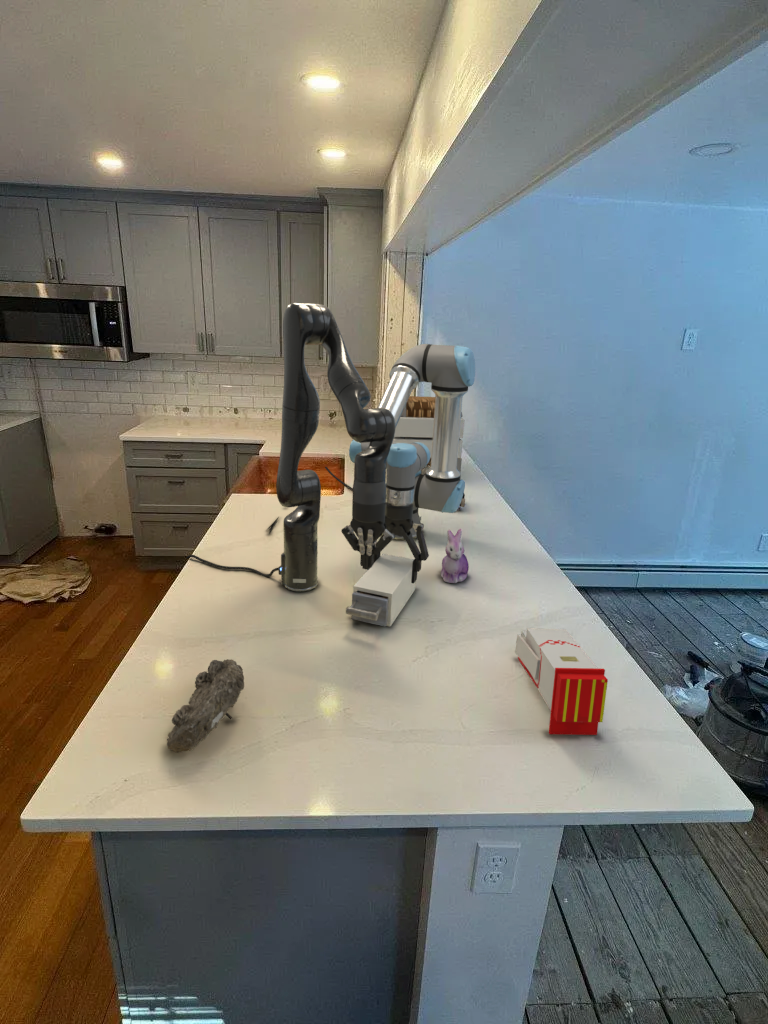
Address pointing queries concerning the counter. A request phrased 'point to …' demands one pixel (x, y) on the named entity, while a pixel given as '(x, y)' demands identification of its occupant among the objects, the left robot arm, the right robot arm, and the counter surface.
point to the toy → (564, 680)
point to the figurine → (454, 559)
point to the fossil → (206, 705)
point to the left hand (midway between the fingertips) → (367, 568)
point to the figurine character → (462, 502)
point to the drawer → (369, 608)
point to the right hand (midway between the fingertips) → (395, 577)
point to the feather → (272, 525)
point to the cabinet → (389, 582)
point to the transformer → (421, 425)
